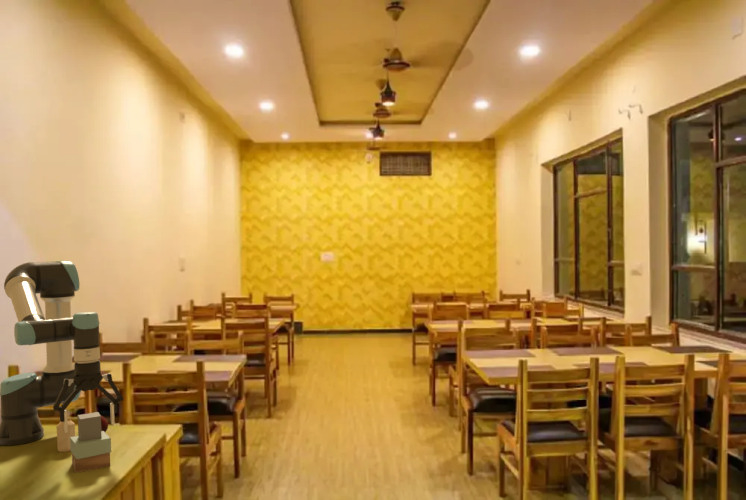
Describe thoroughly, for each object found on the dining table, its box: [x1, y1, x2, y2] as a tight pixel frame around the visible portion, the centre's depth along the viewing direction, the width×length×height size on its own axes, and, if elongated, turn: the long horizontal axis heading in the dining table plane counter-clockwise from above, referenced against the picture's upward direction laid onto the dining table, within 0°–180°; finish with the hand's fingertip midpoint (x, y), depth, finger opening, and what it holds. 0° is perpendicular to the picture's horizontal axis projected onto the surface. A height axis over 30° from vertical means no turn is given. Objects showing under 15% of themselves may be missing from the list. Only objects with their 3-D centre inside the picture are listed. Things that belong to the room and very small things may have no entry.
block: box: [77, 411, 102, 442], centre depth 196 cm, size 6×6×7 cm
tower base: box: [71, 452, 111, 474], centre depth 196 cm, size 10×10×4 cm
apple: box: [100, 414, 109, 433], centre depth 226 cm, size 7×8×8 cm
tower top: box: [70, 431, 112, 459], centre depth 196 cm, size 10×10×4 cm
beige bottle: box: [56, 418, 76, 453], centre depth 212 cm, size 6×6×10 cm
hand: (89, 427), depth 196 cm, fingers open, 13 cm apart
